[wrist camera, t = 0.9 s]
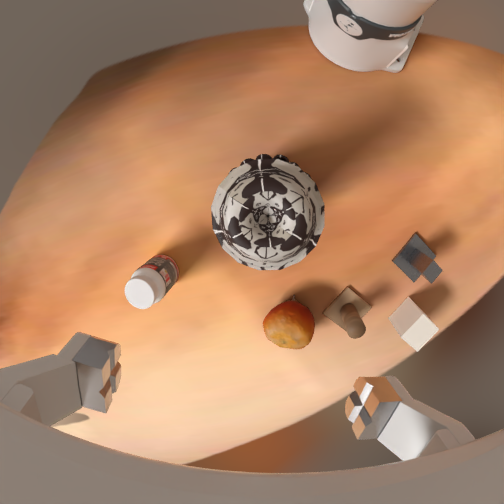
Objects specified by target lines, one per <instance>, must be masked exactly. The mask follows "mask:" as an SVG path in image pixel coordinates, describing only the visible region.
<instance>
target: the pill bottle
mask: <svg viewBox="0 0 504 504" xmlns="http://www.w3.org/2000/svg"><path fill="white" fill-rule="evenodd" d="M178 276H179V270H178V267H177V265H176V263H175V262H174V260H173V259H171V258H170V257H168V256H165V255H157V256H154V257H153V258H151V259H150V260H149V261H147V262H146V263H145V264H144V265H142V266H141V267H140V268H138V269H137V270H136V271H135V272H134V273H133V275H132V277H131V279H130V280H129V281H128V282H127V284H126V286H125V295H126V298H127V300H128V301H129V302H130V303H131V304H132V305H133V306H135V307H137V308H140V309H146V308H149V307H150V306H151V305H152V304H154V303H157V302H159V301H160V300H161V299H162V298H163V297H164V296H165V295H166V293H167V292H168V291H169V290H170V289H171V287H172V286H173V285H174V284H175V283H176V281H177V279H178Z"/></svg>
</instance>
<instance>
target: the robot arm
mask: <svg viewBox="0 0 504 504" xmlns="http://www.w3.org/2000/svg"><path fill="white" fill-rule="evenodd" d="M436 1H437V0H305V1H304V8H305V10H306V12H307V14H308V16H309V32H310V36H311V38H312V41H313V43H314V44H315V46H316V47H317V48H318V50H319V51H320V52H321V53H322V54H323V55H324V56H325V57H326V58H328V59H329V60H330V61H332V62H334V63H335V64H337V65H339V66H341V67H344V68H347V69H350V70H354V71H363V72H366V71H375V70H385V71H389V72H393V73H398V72H400V71H401V70H402V68H403V66H404V64H405V62H406V60H407V57H408V55H409V53H410V51H411V48H412V46H413V44H414V42H415V39H416V37H417V35H418V32H419V30H420V28H421V25H422V23H423V20H424V15H423V13H424V12H426V11H427V10H428V9H429V8H430V7H431V6H432V5H433V4H434V3H435V2H436ZM396 59H398V60H399V62H398V61H397V60H396ZM120 356H121V346H120V344H118V343H115V342H111V341H108V340H105V339H101V338H98V337H95V336H91V335H88V334H85V333H81V332H77V333H76V334H75V335H74V336H73V337H72V338H71V340H70V341H69V342H68V343H67V344H66V345H65V346H64V348H63V349H62V350H61V351H60V352H59V353H58V355H54V354H52V355H49V356H45V357H42V358H38V359H35V360H31V361H27V362H24V363H20V364H17V365H13V366H9V367H6V368H2V369H0V504H504V429H502V430H500V431H497V432H495V433H493V434H490V435H488V436H485V437H483V438H480V439H477V440H476V439H475V438H474V437H473V436H472V434H471V433H470V432H469V431H468V429H467V428H466V427H465V426H464V425H463V423H461V422H459V421H457V420H455V419H453V418H451V417H449V416H447V415H445V414H443V413H441V412H439V411H437V410H435V409H433V408H431V407H429V406H427V405H425V404H424V403H422V402H420V401H418V400H414V399H413V398H412V397H411V396H410V395H409V393H408V392H407V390H406V389H405V388H404V387H403V385H402V384H401V383H400V381H399V380H398V379H397V378H396V377H394V376H383V377H359V378H358V379H357V380H356V382H355V384H354V389H355V391H354V392H352V393H351V394H350V395H349V396H348V399H347V401H346V405H345V412H346V416H347V418H348V419H349V420H350V421H351V422H353V426H352V429H353V431H354V433H355V435H356V437H357V439H358V440H361V439H375V438H378V440H379V441H380V442H381V443H383V445H385V446H386V447H387V448H388V449H390V450H391V451H392V452H393V453H394V454H396V455H397V456H398V457H399V458H401V459H402V460H403V461H400V462H395V463H390V464H385V465H379V466H373V467H366V468H358V469H350V470H341V471H329V472H313V473H251V472H235V471H224V470H214V469H206V468H198V467H191V466H185V465H179V464H173V463H168V462H163V461H158V460H153V459H149V458H145V457H140V456H136V455H132V454H128V453H125V452H121V451H118V450H114V449H111V448H107V447H104V446H101V445H98V444H95V443H92V442H89V441H86V440H83V439H80V438H78V437H75V436H72V435H69V434H67V433H64V432H62V431H59V430H57V429H55V428H52V427H50V426H51V425H53V424H55V423H56V422H58V421H60V420H62V419H63V418H65V417H67V416H69V415H70V414H72V413H74V412H75V411H77V410H79V409H80V408H82V406H83V407H86V408H89V409H93V410H96V411H100V412H103V413H107V411H108V408H109V406H110V404H111V402H112V393H114V392H116V391H117V389H118V386H119V383H120V379H121V365H120V363H119V362H118V360H119V358H120Z"/></svg>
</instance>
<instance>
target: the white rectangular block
mask: <svg viewBox="0 0 504 504" xmlns="http://www.w3.org/2000/svg"><path fill="white" fill-rule="evenodd" d="M389 320H390V321H391V323H392V325H393V326H394V328H395V329H396V331H397V332H398V334H399V335H400V337H401V338H402V339H403V340H404V341H406V342H407V343H408V344H409V345H410V346H411V347H413V348H414V349H415V350H416V351H417V352H418V351H419V350H420V349H421V348H422V347H423V346H424V345H425V344H426V343H427V342H428V341H429V340H430V339H431V338H432V336H433V335H434V334H435V333H436V332H437V331H438V330H439V329H438V327H437V326H436V325H435V324H434V323H433V322H432V320H431V319H430V318H429V317H428V316H427V315H426V314H425V313H424V311H423V310H422V309H421V308H420V307H419V306H418V305H417V304H416V303H415V302H414V301H413V300H411V299H410V298H409V297H407V298H406V299H405V301H404V302H403V303H402V304H401V305H400V306H399V307H398V308H397V309H396V310H395V311H394V312H393V313H392V314H391V316H390V317H389Z"/></svg>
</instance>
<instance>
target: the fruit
mask: <svg viewBox="0 0 504 504" xmlns="http://www.w3.org/2000/svg"><path fill="white" fill-rule="evenodd" d="M263 327H264V332H265V334H266V337H267V338H268V340H270V341H272V342H273V343H274V344H276V345H278V346H279V347H283V348H289V349H302V348H304V347H305V346H306V345H308V344H309V343H310V341H311V339H312V337H313V334H314V327H315V323H314V318H313V315H312V313H311V312H310V310H309V309H308V308H307V307H305V306H303V305H302V304H300V303H299V302H298V301H296V300H295V295H293V299H292V301H286V302H283V303H281V304H279V305H277V306H276V307H274V308H273V309H272V310H271V311H270V312H269V313H268V315H267V316H266V317H265V319H264V321H263Z"/></svg>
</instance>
